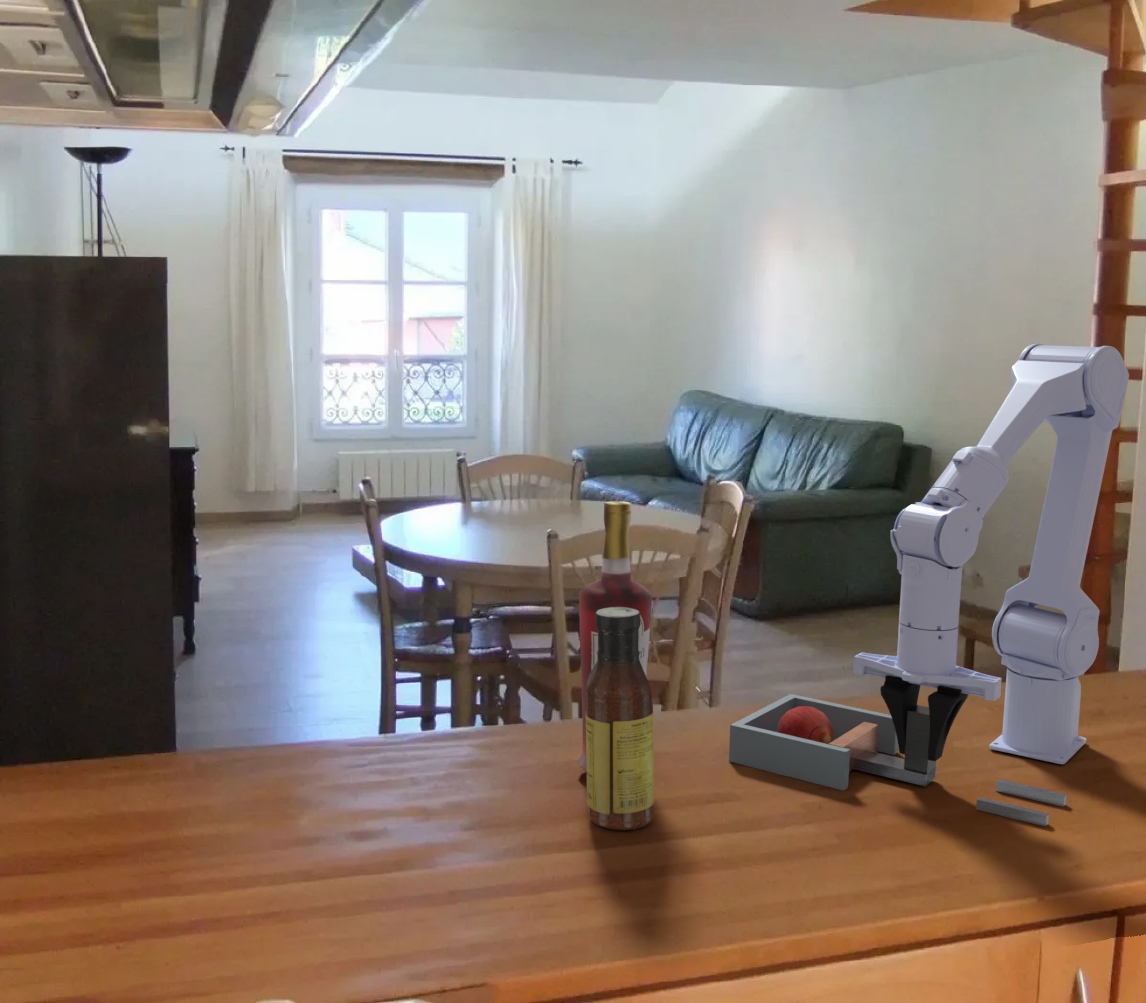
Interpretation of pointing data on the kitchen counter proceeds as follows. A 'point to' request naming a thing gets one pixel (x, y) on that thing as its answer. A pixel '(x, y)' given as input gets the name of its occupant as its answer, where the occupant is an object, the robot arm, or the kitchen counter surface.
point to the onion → (806, 724)
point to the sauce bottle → (619, 726)
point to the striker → (908, 769)
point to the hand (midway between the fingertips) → (920, 754)
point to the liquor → (611, 598)
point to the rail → (1021, 812)
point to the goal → (804, 741)
